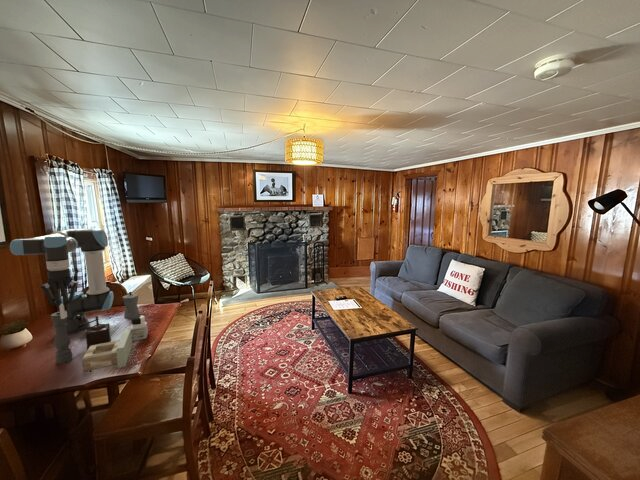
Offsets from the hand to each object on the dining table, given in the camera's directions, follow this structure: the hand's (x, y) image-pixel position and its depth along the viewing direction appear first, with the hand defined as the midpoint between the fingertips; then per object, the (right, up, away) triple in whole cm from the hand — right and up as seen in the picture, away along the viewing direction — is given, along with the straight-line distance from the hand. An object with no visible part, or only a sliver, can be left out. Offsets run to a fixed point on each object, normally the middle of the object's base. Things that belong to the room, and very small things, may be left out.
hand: (63, 317), depth 126 cm
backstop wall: (+18, -25, +15) cm, 34 cm away
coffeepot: (-15, -18, +66) cm, 70 cm away
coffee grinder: (-8, -23, +26) cm, 36 cm away
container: (+12, -22, +35) cm, 44 cm away
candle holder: (-10, -25, +10) cm, 29 cm away
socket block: (+10, -25, +11) cm, 29 cm away
